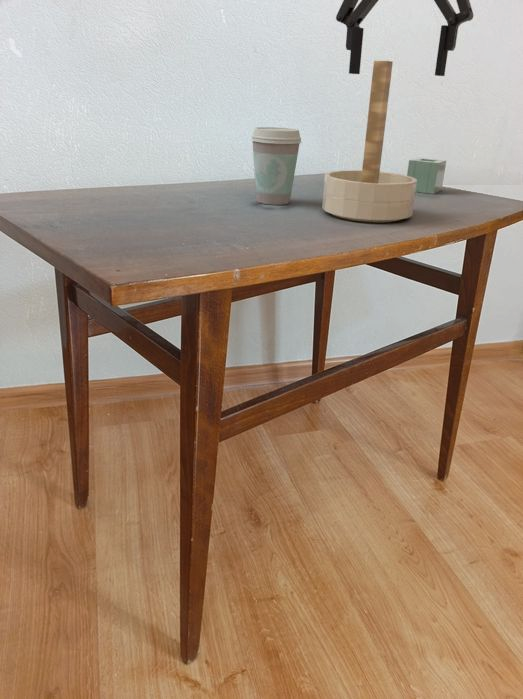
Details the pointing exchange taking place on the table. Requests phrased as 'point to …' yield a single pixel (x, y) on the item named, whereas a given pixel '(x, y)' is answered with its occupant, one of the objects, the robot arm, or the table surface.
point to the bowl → (368, 196)
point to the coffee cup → (275, 163)
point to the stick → (376, 121)
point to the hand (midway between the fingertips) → (395, 75)
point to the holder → (427, 174)
